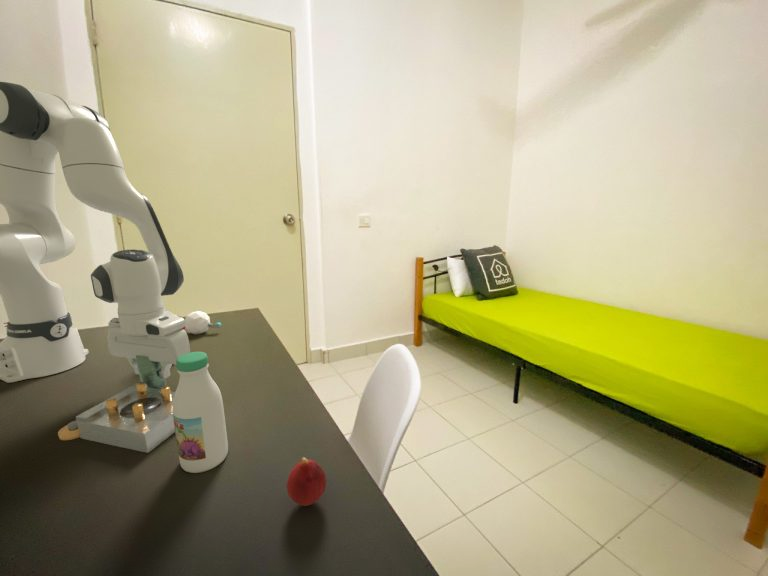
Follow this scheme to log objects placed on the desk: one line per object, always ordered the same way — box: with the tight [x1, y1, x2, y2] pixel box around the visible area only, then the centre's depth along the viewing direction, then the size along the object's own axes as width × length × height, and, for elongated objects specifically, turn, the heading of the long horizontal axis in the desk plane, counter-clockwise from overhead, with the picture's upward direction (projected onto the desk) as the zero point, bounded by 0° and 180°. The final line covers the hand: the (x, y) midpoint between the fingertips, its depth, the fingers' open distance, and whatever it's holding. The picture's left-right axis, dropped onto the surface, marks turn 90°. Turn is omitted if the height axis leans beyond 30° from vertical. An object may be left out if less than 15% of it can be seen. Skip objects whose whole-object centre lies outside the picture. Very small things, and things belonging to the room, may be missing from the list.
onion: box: [286, 456, 327, 507], centre depth 51 cm, size 6×6×8 cm
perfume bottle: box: [184, 310, 222, 335], centre depth 118 cm, size 8×8×12 cm
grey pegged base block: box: [75, 382, 176, 454], centre depth 69 cm, size 16×13×7 cm
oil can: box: [136, 355, 168, 389], centre depth 80 cm, size 5×5×13 cm
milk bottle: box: [172, 351, 229, 474], centre depth 58 cm, size 8×8×20 cm
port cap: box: [57, 420, 80, 441], centre depth 67 cm, size 5×5×2 cm
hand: (152, 375), depth 81 cm, fingers open, 6 cm apart
